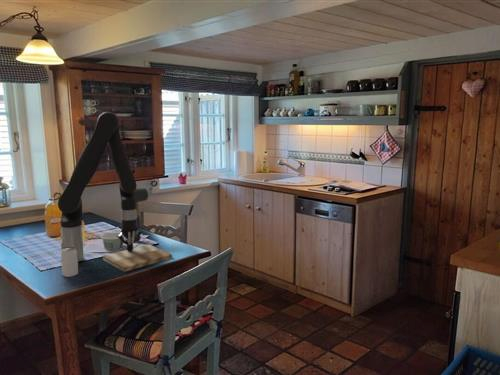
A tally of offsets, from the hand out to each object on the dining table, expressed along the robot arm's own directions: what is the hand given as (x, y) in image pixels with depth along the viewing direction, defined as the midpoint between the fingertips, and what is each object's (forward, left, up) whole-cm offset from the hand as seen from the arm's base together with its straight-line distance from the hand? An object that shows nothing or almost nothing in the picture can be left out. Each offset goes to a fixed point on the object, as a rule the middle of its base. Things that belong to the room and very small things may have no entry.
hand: (130, 251), depth 205 cm
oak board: (+6, -11, -2) cm, 13 cm away
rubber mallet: (+4, +22, -2) cm, 22 cm away
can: (-25, -19, -2) cm, 32 cm away
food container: (-8, +15, -2) cm, 17 cm away
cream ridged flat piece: (+1, -2, -2) cm, 3 cm away
